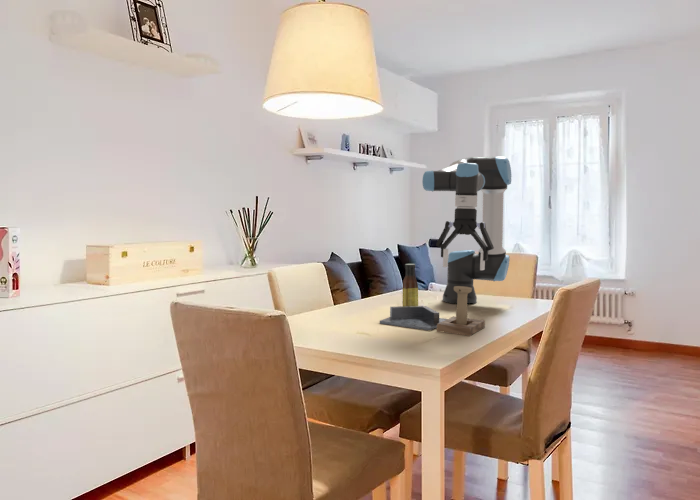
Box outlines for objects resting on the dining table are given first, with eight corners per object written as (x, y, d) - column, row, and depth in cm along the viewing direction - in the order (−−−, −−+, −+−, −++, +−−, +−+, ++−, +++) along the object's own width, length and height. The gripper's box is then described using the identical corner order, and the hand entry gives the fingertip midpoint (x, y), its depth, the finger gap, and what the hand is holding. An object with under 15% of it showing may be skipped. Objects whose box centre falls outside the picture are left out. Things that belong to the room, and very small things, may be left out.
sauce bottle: (420, 313, 230) (422, 264, 229) (413, 315, 225) (415, 265, 223) (406, 311, 234) (407, 262, 232) (398, 313, 229) (400, 264, 227)
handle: (466, 331, 199) (468, 289, 198) (449, 328, 203) (451, 287, 202) (472, 329, 203) (474, 287, 202) (456, 326, 207) (457, 285, 206)
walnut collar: (453, 322, 213) (453, 316, 213) (484, 327, 207) (485, 320, 207) (436, 331, 199) (437, 324, 199) (470, 335, 193) (470, 328, 193)
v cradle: (401, 315, 225) (401, 302, 225) (449, 321, 215) (449, 308, 214) (379, 323, 210) (380, 310, 209) (430, 330, 199) (430, 316, 199)
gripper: (428, 207, 202) (426, 266, 204) (498, 208, 190) (495, 272, 191) (436, 207, 209) (434, 264, 210) (504, 208, 196) (501, 270, 198)
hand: (463, 268), depth 201 cm, fingers open, 13 cm apart
